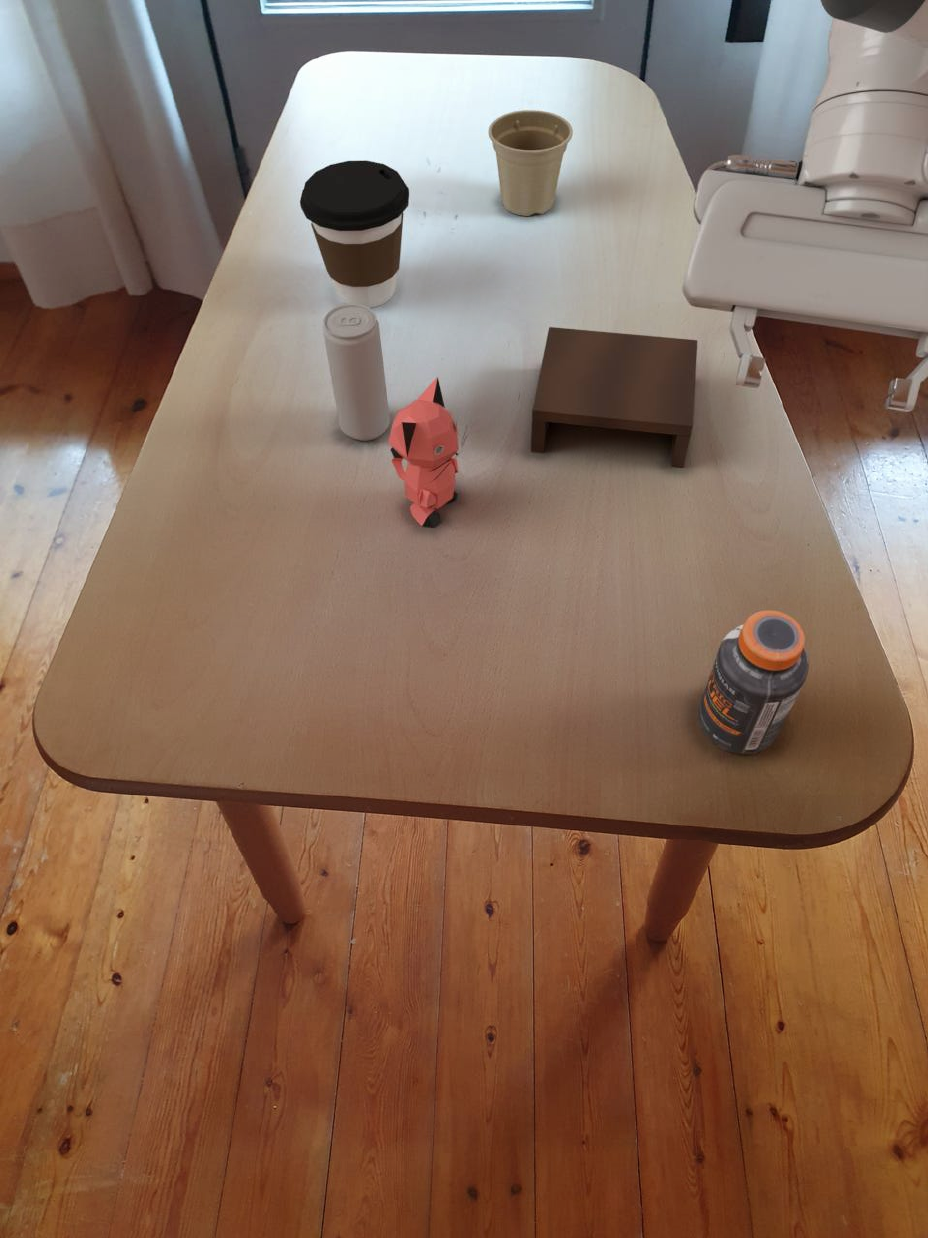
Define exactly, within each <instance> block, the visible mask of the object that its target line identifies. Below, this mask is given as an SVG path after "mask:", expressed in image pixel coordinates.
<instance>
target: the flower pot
mask: <svg viewBox="0 0 928 1238" xmlns="http://www.w3.org/2000/svg"><path fill="white" fill-rule="evenodd" d="M573 131H574V130H573V127H572V125H571V123H570V122H569V121H568V120H567V119H566V118H564V117H562V116H561V115H559V114H556V113H553V112H549V111H543V110H535V109H534V110H533V109H532V110H531V109H525V110H516V111H512V112H511V111H510V112H508V113H504V114H502V115H501V116H499V117H497V118H496V119H494V120H493V121H492V122H491V123H490V125H489V127H488V137H489V139H490V141H491V142H492V149H493V151H494V152H495V157H496V166H497V174H498V181H499V190H500V201H501V203H502V205H503V207H504V209H505V210H506V211H508V212H509V213H512V214H514V215H519V216H523V217H530V216H532V215H533V214H540V215H542V214H544V213H546V212H548V211H549V210H550V209H551V208H552V207H553V205H554V203H555V197H556V192H557V188H558V187H557V186H558V182H559V178H560V172H561V168H562V162H563V158H564V154H565V152H566V150H567V147H568V143H570V141H571V140H572V138H573V134H574V133H573Z"/></svg>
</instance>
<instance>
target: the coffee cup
mask: <svg viewBox="0 0 928 1238" xmlns="http://www.w3.org/2000/svg"><path fill="white" fill-rule="evenodd" d="M409 203H410V188H409V187H408V185H407V184H406V183H405V180H404V178H402V176H401V175H400V173H399V171H397V170H396V169H393V168H392V167H390V166H389V165H386V164H384V163H381V162H376V161H371V160H345V161H341V162H336V163H332V164H331V163H330V164H328V165H327V166H325V167H323V168H321V169H319V170H316V171H315V172H314V173H313V174H312V175H311V176H310V177H309V178H308V179H307V180H306V181H305V182H304V186H303V189H302V191H301V196H300V199H299V206H300V209H301V211H302V213H303V214H304V217H305V218H306V219H307V220H308V221H310V226H311V228H312V232H313V234H314V237H315V240H316V243H317V246H318V249H319V252H320V255H321V257H322V261H323V264H324V268H325V270H326V272H327V274H328V276H329V277H330V280H331V282H332V285H333V288H334V291H335V293H336V294H337V296H338V298H339V299H340V300H341V301H342V302H343V303H344V304H360V305H364V306H366V307H368V308H370V309H372V308H376V307H380V306H382V305H383V304H385V303H387V302H389V301H390V300H391V298H392V297H393V296H394V294H395V292H396V289H397V284H398V283H397V282H398V271H399V270H400V265H401V253H402V240H403V227H404V226H403V225H404V214H405V213H404V212H405V210H406V209H407V208H408V207H409Z"/></svg>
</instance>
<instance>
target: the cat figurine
mask: <svg viewBox="0 0 928 1238" xmlns="http://www.w3.org/2000/svg"><path fill="white" fill-rule="evenodd" d="M442 394H443V393H442V389H441V384H440V380H439V376H436V377H435V379H433V381H431V383H430V384H429V385H428V387H427V388H426V389H425V390H424V391H423V392H422V393H421V394H420V395H419V396H418V398H417V399H415V400H413V401H412V402H410V403H409V404H407V405H406V406H405V407H403V408H402V409H400V410H399V411H397V413H396V415H395V417H394V419H393V421H392V424H391V428H390V434H389V438H388V445H390V447H391V448H390V449H389V450H390V453H391V454H392V457H393V458H392V459H391V463H392V465H393V467H394V469H395V471H396V474H397V475H398V478H399V479H401V480H402V481H403V483H404V491H405V497H406V499H408V500H409V501H411V502H412V504H411V505H410V506H409V509H410V513H411V516H412V517H413V519H414V520H415V521H417V523H418V524H419V525H420V526H421V527H423V528H433V529H434V528H436V527H437V526H439V525H440V524H442V519H441V515H440V513H439V512H438V511H437V510H436V509H440V508H441V507H442V506H444V505H446V506H447V505H449V504H452V503H454V502H457V499H458V492H456V491H455V487H456V474H457V473H459V464H458V459H457V457H458V456H459V453H461V452H462V450H460V451H459V435H458V434H459V433H458V428H457V422H455V421H454V418H453V416H452V414H451V412H450V411H448V410H447V409H446V408H445V403H444V399H443V395H442ZM467 428H468V425H466V426H465V430H464V433H463V436H462V441H461V446H460V447H461V448H462V447H463V445H464V443H465V441H466V439H467V438H468V435H466V431H467ZM465 435H466V437H465ZM464 437H465V438H464ZM462 449H463V448H462ZM458 451H459V452H458ZM403 460H406V461H407V465H406V467H405V471H404V467H403V463H402V461H403Z"/></svg>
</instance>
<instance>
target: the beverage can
mask: <svg viewBox="0 0 928 1238" xmlns="http://www.w3.org/2000/svg"><path fill="white" fill-rule="evenodd" d="M322 321H323V325H322V333H323V339H324V344H325V349H326V350H325V351H326V355H327V362H328V369H329V373H330V380H331V384H332V390H333V397H334V402H335V408H336V414H337V418H338V419H337V420H338V425H339V428H340V430H341V431H342V432H343V433H344V434H345V435H346V436H347V437H349V438H351V439H353V440H356V441H360V442H367V441H373V440H376V439H378V438H379V437H381V436H382V435H383V434H384V433H386V431H387V429H388V428H389V427H390V424H391V417H390V409H389V400H388V399H389V398H388V392H387V383H386V374H385V366H384V365H385V364H384V357H383V349H382V340H381V339H382V338H381V331H380V323H379V321H378V319H377V314H376V313H375V311H374V310H373V309H372V308H368V307H366V306H364V305H360V304H346V303H344V304H342V305H339V306H338V305H337V306H336V307H334V308H332V309H330V310H329V311H327V313H326V314H325V315H324V318H323V320H322Z"/></svg>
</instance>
